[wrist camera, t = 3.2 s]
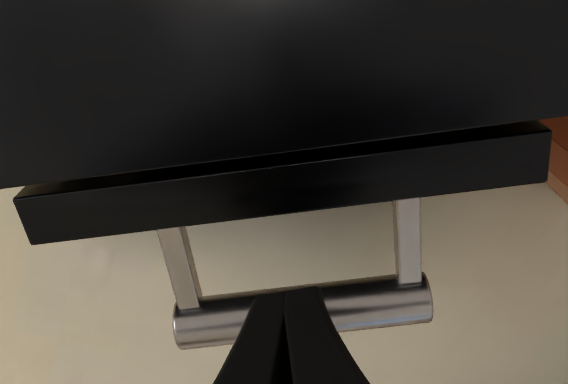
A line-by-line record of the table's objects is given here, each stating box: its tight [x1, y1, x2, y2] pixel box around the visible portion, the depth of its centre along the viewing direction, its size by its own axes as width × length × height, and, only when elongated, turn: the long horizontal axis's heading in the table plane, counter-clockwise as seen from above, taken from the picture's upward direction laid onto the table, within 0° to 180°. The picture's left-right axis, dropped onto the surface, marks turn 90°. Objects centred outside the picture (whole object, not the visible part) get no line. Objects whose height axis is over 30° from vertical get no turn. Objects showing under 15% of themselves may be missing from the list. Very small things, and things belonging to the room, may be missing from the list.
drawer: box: [13, 120, 552, 350], centre depth 13 cm, size 17×11×7 cm, turn 8°
